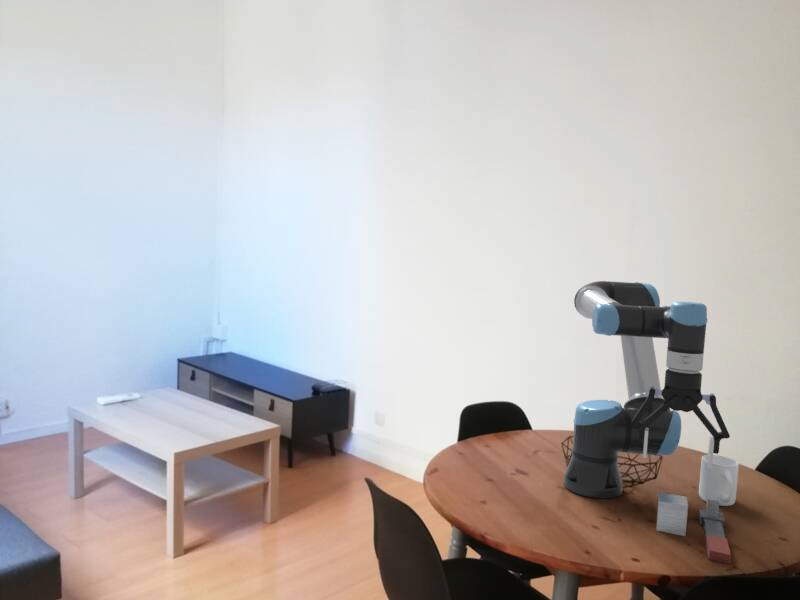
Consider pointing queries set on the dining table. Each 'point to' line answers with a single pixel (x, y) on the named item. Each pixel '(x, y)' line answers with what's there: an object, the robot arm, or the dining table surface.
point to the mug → (719, 479)
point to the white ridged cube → (672, 514)
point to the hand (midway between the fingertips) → (676, 461)
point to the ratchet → (714, 531)
